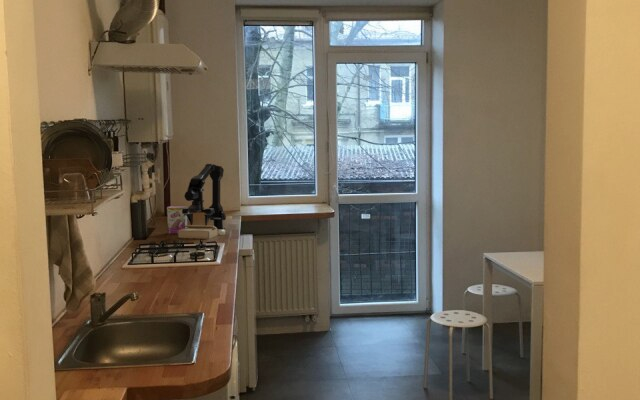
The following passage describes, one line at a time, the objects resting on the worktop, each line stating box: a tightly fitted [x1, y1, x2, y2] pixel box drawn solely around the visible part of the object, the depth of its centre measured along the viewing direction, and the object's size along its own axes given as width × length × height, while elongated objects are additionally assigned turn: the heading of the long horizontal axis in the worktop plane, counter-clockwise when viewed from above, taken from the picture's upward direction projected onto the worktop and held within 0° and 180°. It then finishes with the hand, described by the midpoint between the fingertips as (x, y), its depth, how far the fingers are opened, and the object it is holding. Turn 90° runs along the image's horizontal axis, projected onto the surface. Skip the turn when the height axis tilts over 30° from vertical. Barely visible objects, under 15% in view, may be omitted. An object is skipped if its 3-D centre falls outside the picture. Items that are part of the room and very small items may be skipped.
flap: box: [184, 224, 217, 229], centre depth 398 cm, size 5×19×1 cm, turn 73°
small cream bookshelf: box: [177, 228, 219, 240], centre depth 395 cm, size 12×20×5 cm, turn 74°
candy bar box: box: [166, 206, 188, 235], centre depth 408 cm, size 11×5×16 cm, turn 83°
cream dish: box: [218, 229, 226, 236], centre depth 402 cm, size 7×7×2 cm
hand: (198, 225), depth 396 cm, fingers open, 9 cm apart
